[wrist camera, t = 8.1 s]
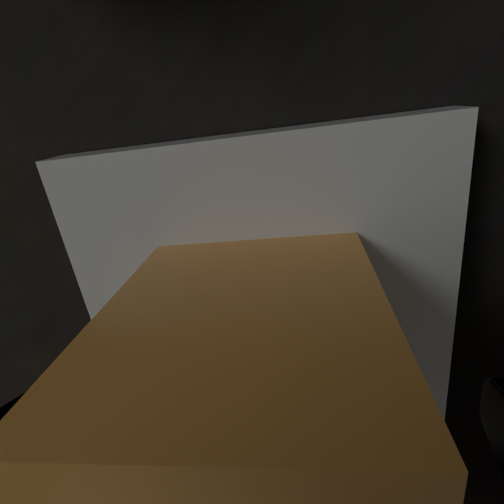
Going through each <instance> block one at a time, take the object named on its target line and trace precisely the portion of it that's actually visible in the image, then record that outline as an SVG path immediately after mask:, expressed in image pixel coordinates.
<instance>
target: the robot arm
mask: <svg viewBox="0 0 504 504" xmlns="http://www.w3.org/2000/svg"><path fill="white" fill-rule="evenodd" d="M25 393H26V392H25ZM25 393H23V394H22V395H20V396H19V397H17V398H15V399H14V400H12V401H10V402H9V403H7V404H5V405H4V406H2V407H0V420H1V419H2V418H3V417H4V416H5V415H6V414H7V413H8V411H9V410H10V409H11V408H12V407H13V406H14V405H15V404H16V403H17V402H18V400H19V399H20V398H21V397H22V396H23V395H24V394H25ZM480 418H481V422H482V425H483V427H484V430H485V432H486V435H487V437H488V440H489V442H490V445H491V447H492V450H493V452H494V455H495V457H496V460H497V462H498V465H499V467H500V470H501V472H502V475H503V477H504V377H494V378H487V379H486V380H485V382H484V385H483V391H482V398H481V404H480Z"/></svg>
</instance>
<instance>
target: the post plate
mask: <svg viewBox="0 0 504 504" xmlns="http://www.w3.org/2000/svg"><path fill="white" fill-rule="evenodd" d="M477 116H478V107H469V106H447V107H440V108H432V109H424V110H416V111H408V112H400V113H392V114H384V115H376V116H368V117H360V118H352V119H344V120H336V121H328V122H320V123H313V124H305V125H297V126H289V127H281V128H273V129H265V130H257V131H249V132H241V133H233V134H225V135H217V136H209V137H201V138H193V139H186V140H178V141H170V142H162V143H154V144H146V145H138V146H130V147H122V148H114V149H106V150H98V151H90V152H82V153H74V154H66V155H61V156H57V157H53V158H50V159H46V160H42V161H38V162H36V165H37V168H38V171H39V174H40V176H41V179H42V182H43V185H44V188H45V191H46V193H47V196H48V199H49V202H50V205H51V208H52V210H53V213H54V216H55V219H56V222H57V224H58V227H59V230H60V233H61V236H62V239H63V241H64V244H65V247H66V250H67V253H68V256H69V258H70V261H71V264H72V267H73V270H74V273H75V275H76V278H77V281H78V284H79V287H80V290H81V292H82V295H83V298H84V301H85V304H86V307H87V309H88V312H89V315H90V318H91V320H92V319H93V318H94V316H95V315H96V314H97V313H98V312H99V311H100V310H101V309H102V308H103V307H104V305H105V304H106V303H107V302H108V301H109V300H110V299H111V298H112V297H113V296H114V294H115V293H116V292H117V291H118V290H119V289H120V288H121V287H122V286H123V284H124V283H125V282H126V281H127V280H128V279H129V278H130V277H131V276H132V275H133V273H134V272H135V271H136V270H137V269H138V268H139V267H140V266H141V265H142V263H143V262H144V261H145V260H146V259H147V258H148V257H149V256H150V255H151V254H152V252H153V251H154V250H155V249H156V248H157V247H158V246H170V245H184V244H198V243H212V242H226V241H240V240H254V239H268V238H282V237H296V236H311V235H325V234H339V233H353V232H357V234H358V236H359V238H360V241H361V243H362V245H363V247H364V249H365V251H366V253H367V256H368V258H369V260H370V262H371V264H372V266H373V268H374V271H375V273H376V275H377V277H378V279H379V281H380V284H381V286H382V288H383V290H384V292H385V294H386V296H387V299H388V301H389V303H390V305H391V307H392V309H393V311H394V314H395V316H396V318H397V320H398V322H399V324H400V326H401V329H402V331H403V333H404V335H405V337H406V339H407V342H408V344H409V346H410V348H411V350H412V352H413V354H414V357H415V359H416V361H417V363H418V365H419V367H420V369H421V372H422V374H423V376H424V378H425V380H426V382H427V384H428V387H429V389H430V391H431V393H432V395H433V397H434V400H435V402H436V404H437V406H438V408H439V410H440V412H441V415H442V417H443V419H444V421H445V412H446V403H447V393H448V384H449V375H450V366H451V356H452V347H453V338H454V329H455V319H456V310H457V301H458V292H459V283H460V273H461V264H462V255H463V246H464V236H465V227H466V218H467V209H468V199H469V190H470V181H471V172H472V162H473V153H474V144H475V135H476V125H477Z"/></svg>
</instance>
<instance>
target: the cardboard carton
mask: <svg viewBox="0 0 504 504" xmlns="http://www.w3.org/2000/svg"><path fill="white" fill-rule="evenodd" d="M467 478H468V470H467V468H466V466H465V464H464V462H463V460H462V458H461V455H460V453H459V451H458V449H457V447H456V445H455V443H454V440H453V438H452V436H451V434H450V432H449V430H448V427H447V425H446V423H445V421H444V419H443V417H442V415H441V412H440V410H439V408H438V406H437V404H436V402H435V400H434V397H433V395H432V393H431V391H430V389H429V387H428V384H427V382H426V380H425V378H424V376H423V374H422V372H421V369H420V367H419V365H418V363H417V361H416V359H415V357H414V354H413V352H412V350H411V348H410V346H409V344H408V342H407V339H406V337H405V335H404V333H403V331H402V329H401V326H400V324H399V322H398V320H397V318H396V316H395V314H394V311H393V309H392V307H391V305H390V303H389V301H388V299H387V296H386V294H385V292H384V290H383V288H382V286H381V284H380V281H379V279H378V277H377V275H376V273H375V271H374V268H373V266H372V264H371V262H370V260H369V258H368V256H367V253H366V251H365V249H364V247H363V245H362V243H361V241H360V238H359V236H358V234H357V232H353V233H339V234H325V235H311V236H296V237H282V238H268V239H254V240H240V241H226V242H212V243H198V244H184V245H170V246H158V247H157V248H156V249H155V250H154V251H153V252H152V254H151V255H150V256H149V257H148V258H147V259H146V260H145V261H144V262H143V263H142V265H141V266H140V267H139V268H138V269H137V270H136V271H135V272H134V273H133V275H132V276H131V277H130V278H129V279H128V280H127V281H126V282H125V283H124V284H123V286H122V287H121V288H120V289H119V290H118V291H117V292H116V293H115V294H114V296H113V297H112V298H111V299H110V300H109V301H108V302H107V303H106V304H105V305H104V307H103V308H102V309H101V310H100V311H99V312H98V313H97V314H96V315H95V316H94V318H93V319H92V320H91V321H90V322H89V323H88V324H87V325H86V326H85V328H84V329H83V330H82V331H81V332H80V333H79V334H78V335H77V336H76V337H75V339H74V340H73V341H72V342H71V343H70V344H69V345H68V346H67V347H66V349H65V350H64V351H63V352H62V353H61V354H60V355H59V356H58V357H57V358H56V360H55V361H54V362H53V363H52V364H51V365H50V366H49V367H48V368H47V369H46V371H45V372H44V373H43V374H42V375H41V376H40V377H39V378H38V379H37V381H36V382H35V383H34V384H33V385H32V386H31V387H30V388H29V389H28V390H27V392H26V393H25V394H24V395H23V396H22V397H21V398H20V399H19V400H18V402H17V403H16V404H15V405H14V406H13V407H12V408H11V409H10V410H9V411H8V413H7V414H6V415H5V416H4V417H3V418H2V419H1V420H0V504H463V501H464V495H465V489H466V484H467Z"/></svg>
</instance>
